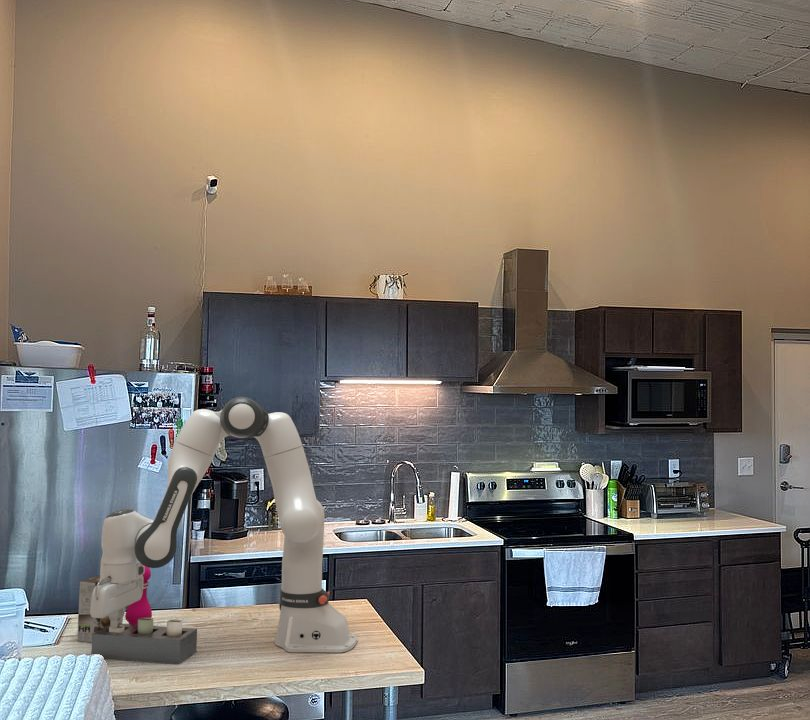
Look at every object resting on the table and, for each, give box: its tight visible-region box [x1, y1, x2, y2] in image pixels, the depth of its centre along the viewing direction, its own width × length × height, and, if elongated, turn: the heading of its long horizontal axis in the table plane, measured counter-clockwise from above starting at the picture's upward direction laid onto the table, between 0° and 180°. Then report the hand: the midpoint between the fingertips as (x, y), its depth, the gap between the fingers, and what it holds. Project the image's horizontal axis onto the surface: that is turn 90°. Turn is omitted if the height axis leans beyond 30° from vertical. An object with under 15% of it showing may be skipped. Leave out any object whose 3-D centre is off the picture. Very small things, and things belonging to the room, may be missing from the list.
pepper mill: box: [124, 560, 153, 625], centre depth 226 cm, size 7×7×20 cm
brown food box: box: [76, 574, 111, 643], centre depth 220 cm, size 9×6×16 cm
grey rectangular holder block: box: [91, 623, 198, 665], centre depth 205 cm, size 24×10×6 cm, turn 80°
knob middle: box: [138, 617, 154, 635], centre depth 206 cm, size 4×4×5 cm
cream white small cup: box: [166, 618, 183, 637], centre depth 204 cm, size 4×4×5 cm
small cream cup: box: [109, 625, 125, 633], centre depth 207 cm, size 4×4×5 cm
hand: (116, 626), depth 207 cm, fingers closed, pressing on small cream cup
